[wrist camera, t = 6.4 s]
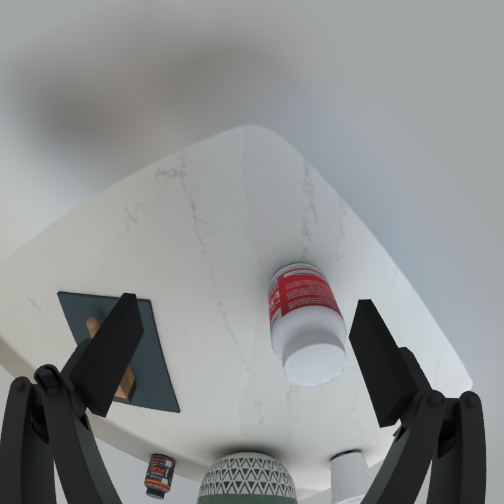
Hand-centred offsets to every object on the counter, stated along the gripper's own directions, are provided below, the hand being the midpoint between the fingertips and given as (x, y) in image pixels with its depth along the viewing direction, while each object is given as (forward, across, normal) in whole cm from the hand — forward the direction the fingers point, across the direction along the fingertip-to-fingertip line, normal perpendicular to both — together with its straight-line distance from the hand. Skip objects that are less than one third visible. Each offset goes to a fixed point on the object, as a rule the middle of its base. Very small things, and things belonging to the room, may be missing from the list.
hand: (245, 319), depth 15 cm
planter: (+12, 0, -48) cm, 49 cm away
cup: (+12, +22, -51) cm, 57 cm away
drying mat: (+12, -18, -19) cm, 29 cm away
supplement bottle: (+12, -20, -55) cm, 59 cm away
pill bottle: (+13, +5, -5) cm, 14 cm away
